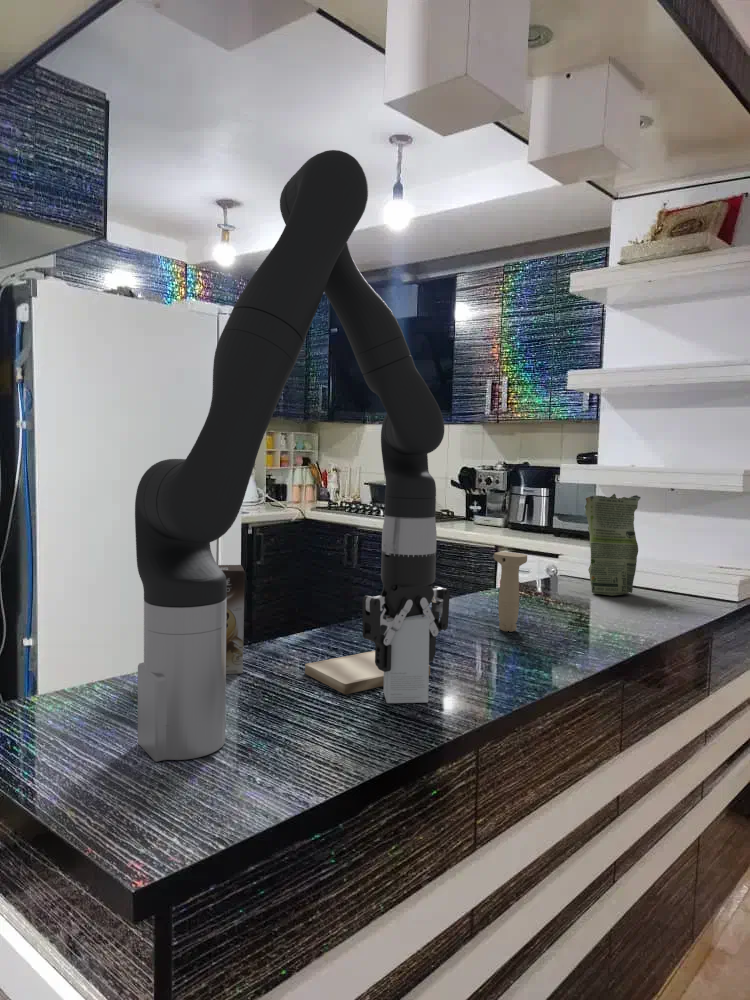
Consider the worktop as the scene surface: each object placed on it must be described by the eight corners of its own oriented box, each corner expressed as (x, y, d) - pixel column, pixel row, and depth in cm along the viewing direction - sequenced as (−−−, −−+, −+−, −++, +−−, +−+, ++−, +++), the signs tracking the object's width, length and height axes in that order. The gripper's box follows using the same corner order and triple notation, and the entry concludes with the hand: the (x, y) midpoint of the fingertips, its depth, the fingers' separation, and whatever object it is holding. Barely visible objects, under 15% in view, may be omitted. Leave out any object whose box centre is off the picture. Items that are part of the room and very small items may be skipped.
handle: (515, 635, 134) (518, 557, 133) (486, 629, 139) (489, 553, 138) (528, 631, 138) (531, 555, 137) (500, 625, 142) (503, 551, 141)
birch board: (345, 694, 100) (345, 684, 100) (305, 673, 109) (305, 663, 109) (430, 675, 110) (430, 665, 110) (387, 657, 119) (387, 648, 119)
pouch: (578, 592, 177) (582, 493, 175) (597, 586, 186) (602, 491, 184) (622, 599, 170) (627, 496, 168) (639, 592, 179) (645, 494, 177)
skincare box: (423, 693, 102) (426, 610, 101) (429, 704, 97) (431, 618, 96) (381, 693, 101) (383, 610, 100) (384, 705, 97) (387, 618, 96)
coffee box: (182, 677, 106) (183, 571, 105) (182, 664, 112) (182, 564, 111) (244, 674, 108) (245, 569, 107) (240, 661, 114) (241, 562, 113)
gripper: (430, 542, 105) (426, 651, 106) (350, 548, 96) (348, 667, 98) (465, 548, 99) (461, 664, 100) (384, 556, 90) (380, 682, 92)
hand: (405, 665), depth 99 cm, fingers closed on skincare box, 7 cm apart
